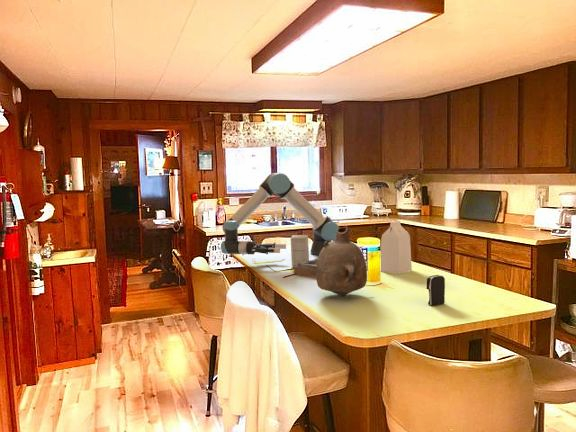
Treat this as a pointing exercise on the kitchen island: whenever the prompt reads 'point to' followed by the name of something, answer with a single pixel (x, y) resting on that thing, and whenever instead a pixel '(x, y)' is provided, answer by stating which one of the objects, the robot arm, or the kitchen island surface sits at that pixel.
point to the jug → (341, 265)
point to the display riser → (306, 268)
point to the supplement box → (299, 249)
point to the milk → (395, 250)
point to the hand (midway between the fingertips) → (283, 248)
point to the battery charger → (436, 289)
